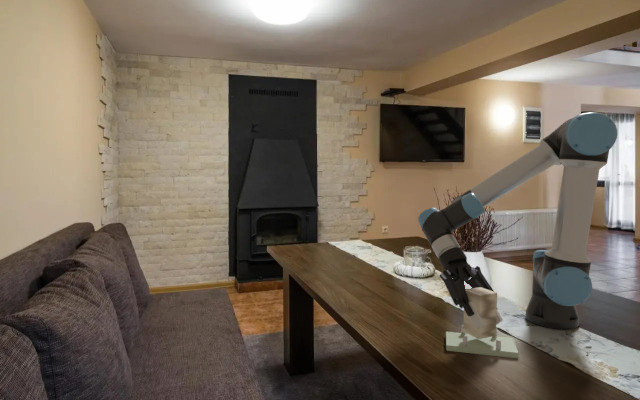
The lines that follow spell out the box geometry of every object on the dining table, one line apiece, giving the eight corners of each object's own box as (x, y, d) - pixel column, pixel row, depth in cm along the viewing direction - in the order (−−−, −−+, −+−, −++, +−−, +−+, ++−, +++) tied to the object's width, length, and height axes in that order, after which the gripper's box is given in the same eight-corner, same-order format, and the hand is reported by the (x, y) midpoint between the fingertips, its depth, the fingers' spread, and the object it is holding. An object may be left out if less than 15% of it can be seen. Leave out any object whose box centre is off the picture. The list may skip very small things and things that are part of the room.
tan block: (479, 328, 120) (480, 287, 119) (495, 335, 114) (497, 292, 113) (463, 331, 117) (464, 289, 116) (479, 339, 112) (480, 295, 111)
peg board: (512, 343, 118) (512, 329, 118) (518, 358, 108) (518, 343, 108) (445, 336, 123) (446, 323, 123) (446, 350, 114) (446, 336, 113)
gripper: (467, 257, 132) (507, 325, 118) (418, 263, 124) (455, 336, 111) (480, 243, 127) (523, 312, 113) (429, 248, 119) (470, 323, 106)
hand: (489, 324), depth 112 cm, fingers closed on tan block, 6 cm apart
